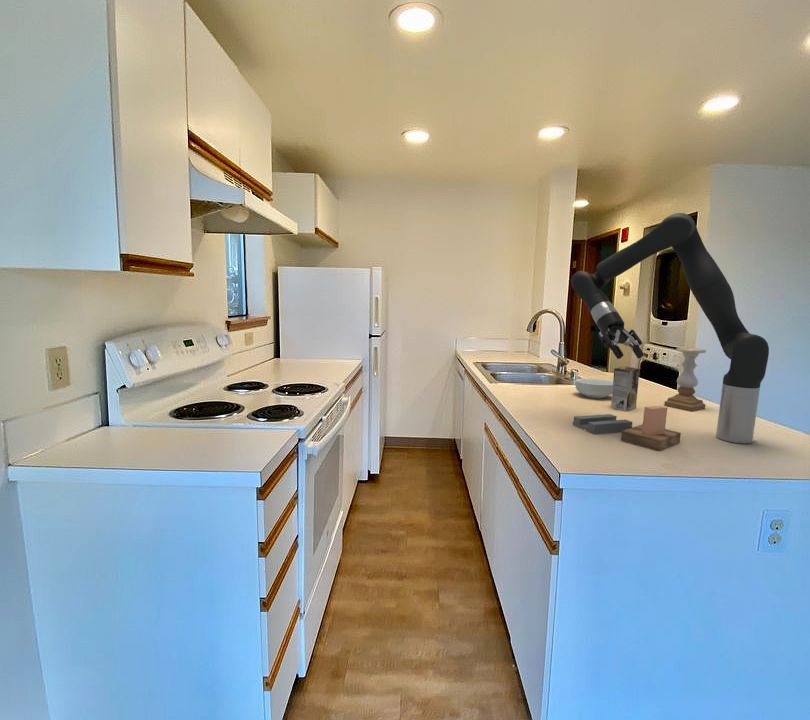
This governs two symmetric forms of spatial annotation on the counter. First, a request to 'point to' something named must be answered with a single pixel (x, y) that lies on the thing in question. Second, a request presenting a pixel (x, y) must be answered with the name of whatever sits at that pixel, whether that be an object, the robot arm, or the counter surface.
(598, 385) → the cereal bowl
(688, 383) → the candle holder
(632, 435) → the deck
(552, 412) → the counter surface
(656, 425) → the tile
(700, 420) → the counter surface
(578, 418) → the rack
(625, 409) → the coffee box
